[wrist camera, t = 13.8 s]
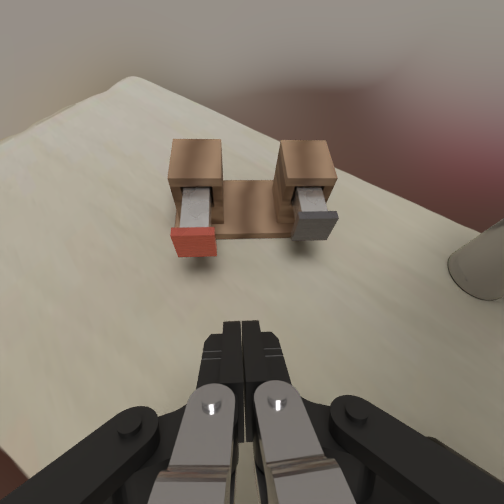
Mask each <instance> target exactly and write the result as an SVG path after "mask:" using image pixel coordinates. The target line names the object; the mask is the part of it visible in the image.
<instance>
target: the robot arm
mask: <svg viewBox="0 0 504 504" xmlns="http://www.w3.org/2000/svg"><path fill="white" fill-rule="evenodd" d="M448 267H449V271H450V274H451V276H452V277H453V279H454V280H455V282H456V283H457V284H458V285H459V286H460V287H461V288H462V289H463V290H465V291H466V292H467V293H469V294H471V295H473V296H475V297H477V298H480V299H484V300H496V299H499V298H501V297H504V219H502V220H501V221H499V222H498V223H496V224H495V225H493V226H492V227H490V228H489V229H488V230H486V231H485V232H483V233H482V234H480V235H479V236H477V237H476V238H474V239H473V240H471V241H470V242H468V243H467V244H466V245H464V246H463V247H461V248H460V249H458V250H457V251H455V252H454V253H453V254H452V255H451V256H450V258H449V261H448ZM244 407H245V426H246V442H253V449H254V473H255V480H256V487H257V494H258V501H259V504H504V485H503V484H502V483H500V482H499V481H497V480H495V479H494V478H492V477H490V476H489V475H487V474H485V473H484V472H482V471H481V470H479V469H477V468H476V467H474V466H472V465H471V464H469V463H468V462H466V461H464V460H463V459H461V458H459V457H458V456H456V455H454V454H453V453H451V452H450V451H448V450H446V449H445V448H443V447H441V446H440V445H438V444H437V443H435V442H433V441H432V440H430V439H428V438H427V437H425V436H424V435H422V434H420V433H419V432H417V431H415V430H414V429H412V428H410V427H409V426H407V425H406V424H404V423H402V422H401V421H399V420H397V419H396V418H394V417H393V416H391V415H389V414H388V413H386V412H384V411H383V410H381V409H379V408H378V407H376V406H375V405H373V404H371V403H370V402H368V401H366V400H364V399H362V398H360V397H357V396H352V395H343V396H339V397H337V398H336V399H334V400H333V402H332V403H331V406H326V405H321V404H317V403H313V402H310V401H308V400H306V399H304V398H302V397H301V396H300V394H299V392H298V391H297V390H296V388H294V387H293V386H292V384H291V381H290V377H289V374H288V370H287V367H286V364H285V360H284V357H283V353H282V350H281V346H280V343H279V339H278V338H277V337H276V336H275V335H274V334H273V333H272V332H261V331H260V325H259V321H258V320H253V321H242V343H241V324H240V321H228V322H223V334H211V335H210V336H209V337H208V338H207V340H206V341H205V342H204V348H203V354H202V360H201V365H200V371H199V376H198V382H197V388H196V390H195V391H194V392H193V393H192V394H191V396H190V397H189V399H188V402H187V404H186V405H185V406H183V407H182V408H180V409H178V410H176V411H174V412H171V413H168V414H165V415H162V416H159V417H158V416H157V414H156V412H155V411H154V410H153V409H151V408H149V407H145V406H137V407H132V408H129V409H126V410H124V411H122V412H120V413H119V414H117V415H116V416H114V417H113V418H112V419H110V420H109V421H107V422H106V423H105V424H103V425H102V426H101V427H99V428H98V429H97V430H95V431H94V432H93V433H91V434H90V435H88V436H87V437H86V438H84V439H83V440H82V441H80V442H79V443H78V444H76V445H75V446H74V447H72V448H71V449H69V450H68V451H67V452H65V453H64V454H63V455H61V456H60V457H59V458H57V459H56V460H55V461H53V462H52V463H51V464H49V465H48V466H46V467H45V468H44V469H42V470H41V471H40V472H38V473H37V474H36V475H34V476H33V477H32V478H30V479H29V480H27V481H26V482H25V483H24V484H22V485H21V486H19V487H18V488H17V489H15V490H14V491H13V492H11V493H10V494H9V495H7V496H6V497H5V498H3V499H2V500H0V504H235V492H236V475H237V464H238V458H239V451H238V443H244Z"/></svg>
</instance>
